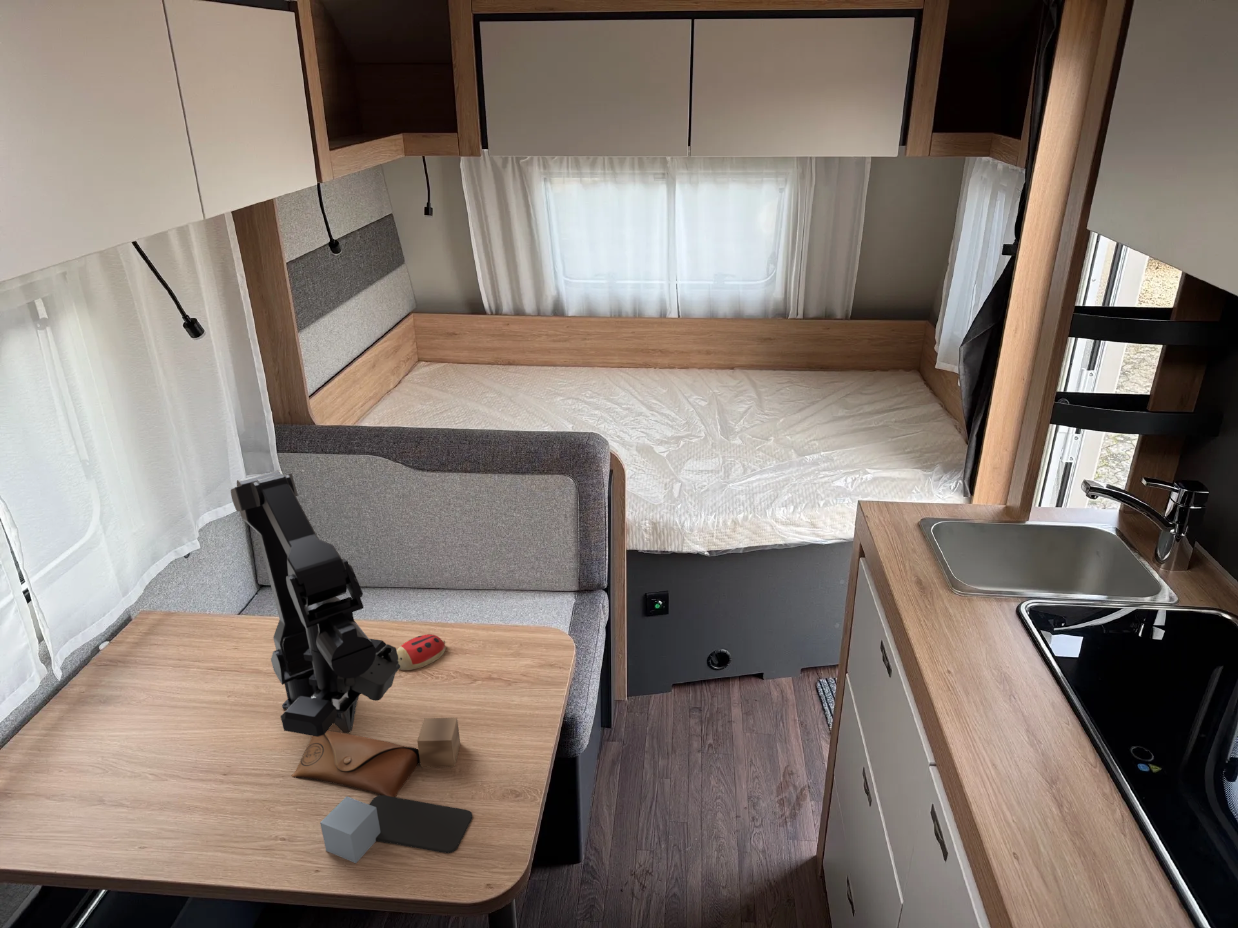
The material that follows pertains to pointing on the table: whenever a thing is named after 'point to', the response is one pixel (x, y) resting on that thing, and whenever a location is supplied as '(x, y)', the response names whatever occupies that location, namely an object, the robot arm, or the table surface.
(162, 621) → the table surface
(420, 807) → the phone
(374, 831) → the slate block
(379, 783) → the sunglasses case
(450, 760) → the walnut block
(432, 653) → the ladybug figurine
